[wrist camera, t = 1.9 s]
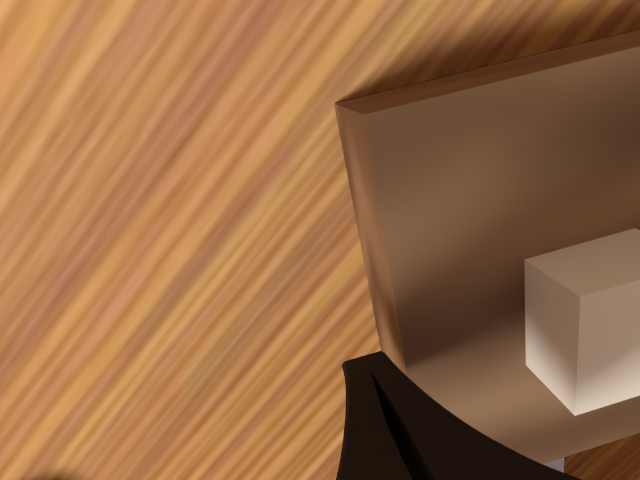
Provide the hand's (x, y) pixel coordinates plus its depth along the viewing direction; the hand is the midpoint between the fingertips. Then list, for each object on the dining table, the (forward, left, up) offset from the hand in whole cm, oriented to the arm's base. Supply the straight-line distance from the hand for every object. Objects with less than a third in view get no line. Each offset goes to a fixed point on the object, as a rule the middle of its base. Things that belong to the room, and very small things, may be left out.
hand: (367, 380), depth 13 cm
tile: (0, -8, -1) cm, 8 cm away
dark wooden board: (0, -9, -5) cm, 10 cm away
